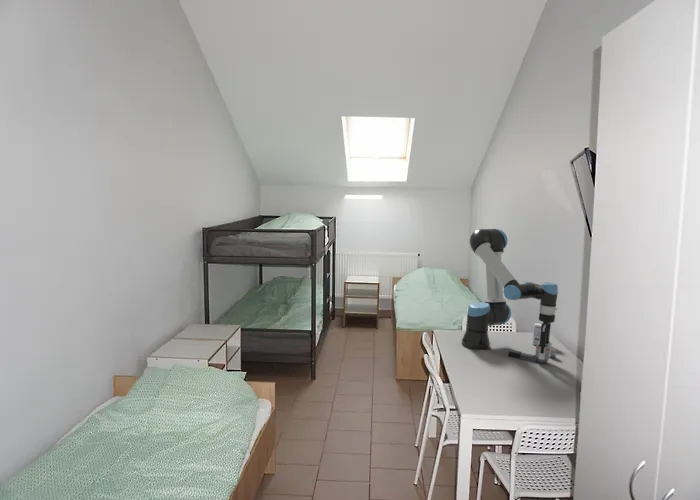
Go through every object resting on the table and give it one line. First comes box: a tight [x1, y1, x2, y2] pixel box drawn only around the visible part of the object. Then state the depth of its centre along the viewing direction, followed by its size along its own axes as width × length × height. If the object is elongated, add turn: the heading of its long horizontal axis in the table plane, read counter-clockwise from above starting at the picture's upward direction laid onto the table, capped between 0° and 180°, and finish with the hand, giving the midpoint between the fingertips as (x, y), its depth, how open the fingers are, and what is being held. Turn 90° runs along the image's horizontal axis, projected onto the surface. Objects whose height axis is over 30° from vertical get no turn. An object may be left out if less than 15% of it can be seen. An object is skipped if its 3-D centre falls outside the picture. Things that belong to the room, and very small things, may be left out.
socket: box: [534, 341, 553, 361], centre depth 265 cm, size 6×6×7 cm
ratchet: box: [508, 349, 549, 365], centre depth 269 cm, size 19×6×7 cm, turn 60°
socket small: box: [549, 347, 558, 359], centre depth 274 cm, size 4×4×4 cm
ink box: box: [532, 322, 551, 346], centre depth 295 cm, size 8×5×12 cm, turn 70°
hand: (542, 357), depth 265 cm, fingers closed on socket, 6 cm apart
